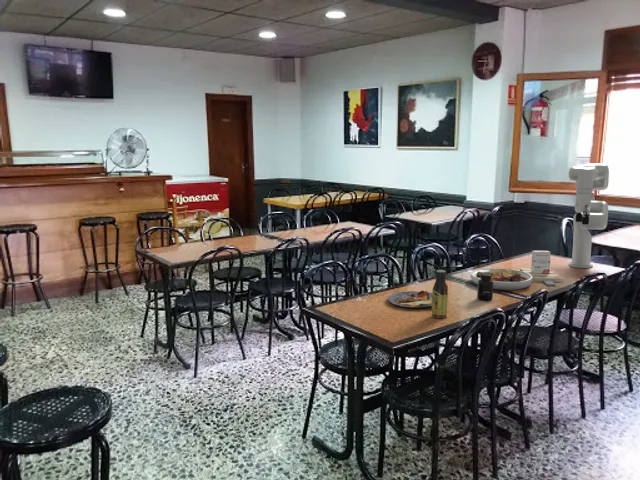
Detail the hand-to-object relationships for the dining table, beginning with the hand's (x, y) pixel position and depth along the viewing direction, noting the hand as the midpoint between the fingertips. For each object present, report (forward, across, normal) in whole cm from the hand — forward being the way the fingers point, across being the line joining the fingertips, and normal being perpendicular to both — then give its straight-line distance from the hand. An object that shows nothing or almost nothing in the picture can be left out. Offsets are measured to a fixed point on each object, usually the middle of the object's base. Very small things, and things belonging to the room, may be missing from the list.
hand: (581, 223), depth 275 cm
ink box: (+26, +7, -22) cm, 35 cm away
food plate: (+29, +61, -91) cm, 113 cm away
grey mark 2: (+27, +26, -22) cm, 43 cm away
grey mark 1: (+29, +22, -22) cm, 42 cm away
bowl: (+29, +24, -46) cm, 59 cm away
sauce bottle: (+28, +81, -82) cm, 119 cm away
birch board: (+28, +8, -22) cm, 37 cm away
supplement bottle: (+28, +54, -59) cm, 85 cm away
